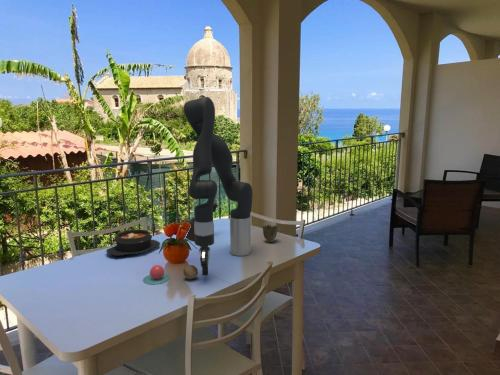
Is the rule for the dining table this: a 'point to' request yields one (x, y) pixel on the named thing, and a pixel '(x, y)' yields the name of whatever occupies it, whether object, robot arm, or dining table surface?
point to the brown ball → (190, 272)
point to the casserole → (132, 243)
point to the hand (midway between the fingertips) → (205, 274)
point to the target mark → (152, 281)
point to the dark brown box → (191, 232)
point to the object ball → (157, 272)
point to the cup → (270, 233)
